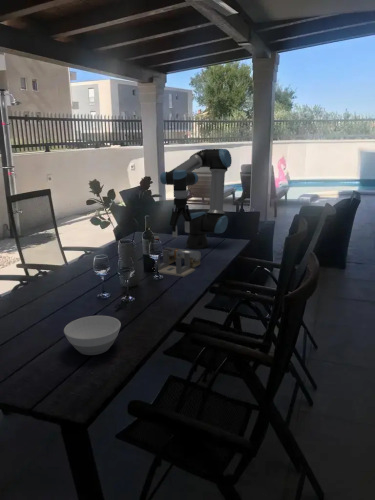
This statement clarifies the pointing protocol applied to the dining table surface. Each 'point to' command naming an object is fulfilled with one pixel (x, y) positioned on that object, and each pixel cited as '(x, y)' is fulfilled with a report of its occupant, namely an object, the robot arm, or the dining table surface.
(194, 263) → the rack
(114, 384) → the dining table surface
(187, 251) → the tube
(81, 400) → the dining table surface
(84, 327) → the bowl
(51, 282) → the dining table surface
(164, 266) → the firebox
